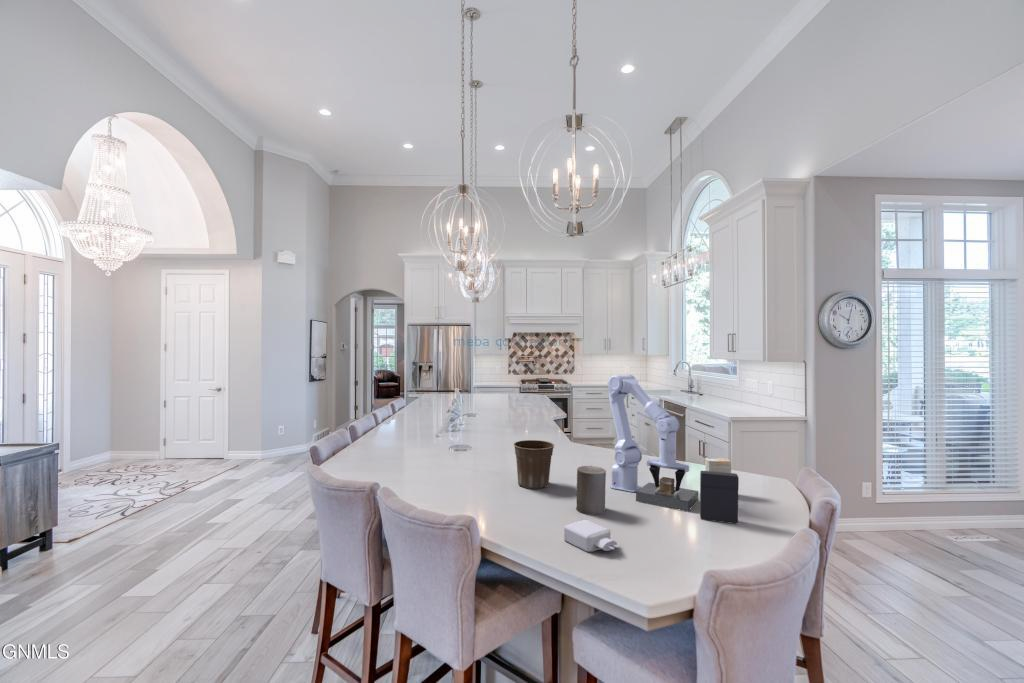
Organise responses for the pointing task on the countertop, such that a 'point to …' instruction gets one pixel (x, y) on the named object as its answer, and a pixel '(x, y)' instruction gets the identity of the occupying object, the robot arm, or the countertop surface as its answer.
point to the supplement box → (718, 465)
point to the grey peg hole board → (667, 497)
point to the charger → (589, 536)
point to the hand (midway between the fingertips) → (667, 488)
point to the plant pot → (533, 463)
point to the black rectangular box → (719, 496)
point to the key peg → (667, 485)
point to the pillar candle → (591, 490)
